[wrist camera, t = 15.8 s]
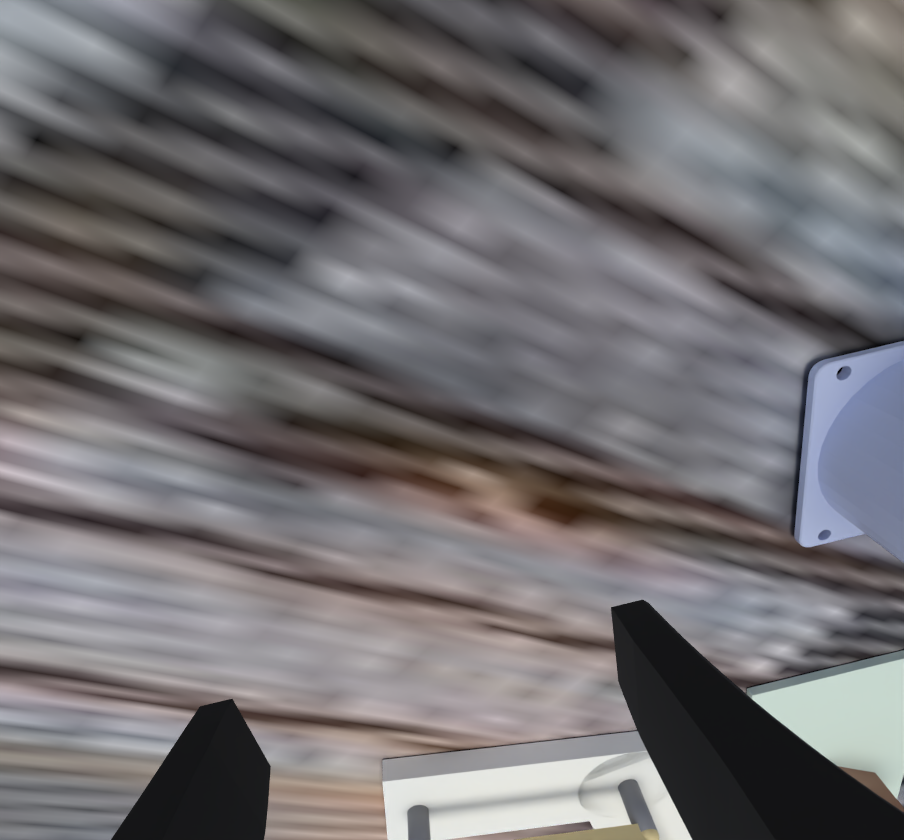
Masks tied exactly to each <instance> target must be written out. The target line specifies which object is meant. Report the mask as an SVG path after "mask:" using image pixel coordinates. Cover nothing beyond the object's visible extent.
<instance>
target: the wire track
mask: <svg viewBox="0 0 904 840" xmlns="http://www.w3.org/2000/svg"><path fill="white" fill-rule="evenodd" d="M383 792H384V803H385V814H386V825H387V836H388V840H446V839H453V838H461V837H469V836H477V835H484V834H492V833H500V832H508V831H515V830H523V829H531V828H539V827H546V826H554V825H562V824H570V823H577V822H585V821H590V823H591V825H592V827H593V828H594V829H593V830H585V831H577V832H570V833H562V834H554V835H547V836H539V837H531V838H524V839H516V840H692V838H691V836H690V834H689V832H688V830H687V828H686V826H685V824H684V823H683V821H682V819H681V817H680V815H679V813H678V811H677V809H676V807H675V805H674V803H673V801H672V799H671V797H670V795H669V793H668V791H667V789H666V787H665V785H664V783H663V781H662V779H661V777H660V775H659V773H658V772H657V770H656V768H655V766H654V764H653V762H652V760H651V758H650V756H649V754H648V752H647V750H646V748H645V746H644V744H643V742H642V740H641V738H640V735H639V733H638V731H633V732H625V733H616V734H607V735H598V736H589V737H580V738H571V739H563V740H554V741H545V742H536V743H527V744H518V745H509V746H501V747H492V748H483V749H474V750H465V751H456V752H447V753H439V754H430V755H421V756H412V757H403V758H394V759H385V760H383Z"/></svg>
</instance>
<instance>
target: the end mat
mask: <svg viewBox="0 0 904 840" xmlns="http://www.w3.org/2000/svg"><path fill="white" fill-rule="evenodd" d="M747 695H748V696H749V697H750V698H751V699H753V700H754V701H755V702H756V703H757V704H759V705H760V706H761V707H762V708H763V709H765V710H766V711H767V712H768V713H769V714H771V715H772V716H773V717H774V718H776V719H777V720H778V721H779V722H781V723H782V724H783V725H784V726H786V727H787V728H788V729H790V730H791V731H792V732H793V733H795V734H796V735H797V736H798V737H800V738H801V739H802V740H803V741H805V742H806V743H807V744H809V745H810V746H811V747H813V748H814V749H815V750H817V751H818V752H819V753H821V754H822V755H823V756H824V757H826V758H827V759H829V760H830V761H831V762H833V763H834V764H835V765H837V766H839V767H845V768H851V769H857V770H863V771H869V772H874V773H876V774H877V776H878V777H879V778H880V779H881V780H882V782H883V783H884V784H885V785H886V787H887V788H888V789H889V790H890V792H891V793H892V794H893V795H894V797H895V798H896V799H897V797H898V793H899V790H900V786H901V782H902V778H903V774H904V650H902V651H898V652H894V653H890V654H886V655H882V656H878V657H873V658H869V659H865V660H861V661H857V662H853V663H849V664H845V665H841V666H837V667H833V668H829V669H824V670H820V671H816V672H812V673H808V674H804V675H800V676H796V677H792V678H788V679H784V680H779V681H775V682H771V683H767V684H763V685H759V686H755V687H751V688H747Z"/></svg>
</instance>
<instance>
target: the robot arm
mask: <svg viewBox="0 0 904 840" xmlns="http://www.w3.org/2000/svg"><path fill="white" fill-rule="evenodd" d="M841 367H843V368H842V371H841V372H840V373H839V374H838V375H837V372H838V370H839V369H840V368H841ZM862 534H866V535H868V536H869V537H870V538H872V539H873V540H874V541H875V542H877V543H878V544H879V545H881V546H882V547H883V548H885V549H886V550H887V551H889V552H890V553H891V554H893V555H894V556H895V557H896V558H898V559H899V560H900V561H902V562H903V563H904V341H901V342H897V343H892V344H888V345H884V346H880V347H875V348H871V349H867V350H863V351H858V352H854V353H850V354H846V355H841V356H837V357H833V358H829V359H824V360H822V361H819V362H818V363H816V364H815V365H814V366H813V367H812V369H811V370H810V373H809V377H808V388H807V399H806V410H805V421H804V433H803V444H802V455H801V466H800V477H799V488H798V499H797V511H796V522H795V533H794V537H795V540H796V541H797V542H798V543H799V544H800V545H802V546H803V547H812V546H817V545H821V544H825V543H829V542H833V541H837V540H841V539H846V538H850V537H854V536H858V535H862ZM611 612H612V622H613V632H614V642H615V652H616V661H617V671H618V681H619V684H620V687H621V689H622V692H623V695H624V697H625V700H626V702H627V705H628V708H629V710H630V713H631V715H632V718H633V720H634V723H635V725H636V728H637V730H638V733H639V735H640V738H641V740H642V742H643V744H644V746H645V748H646V750H647V752H648V754H649V756H650V758H651V760H652V762H653V764H654V766H655V768H656V770H657V772H658V773H659V775H660V777H661V779H662V781H663V783H664V785H665V787H666V789H667V791H668V793H669V795H670V797H671V799H672V801H673V803H674V805H675V807H676V809H677V811H678V813H679V815H680V817H681V819H682V821H683V823H684V824H685V826H686V828H687V830H688V832H689V834H690V836H691V838H692V840H904V812H902V811H901V810H899V809H898V808H896V807H895V806H894V805H892V804H891V803H889V802H888V801H886V800H885V799H883V798H882V797H880V796H879V795H877V794H876V793H874V792H873V791H872V790H870V789H869V788H867V787H866V786H865V785H863V784H862V783H860V782H859V781H858V780H856V779H855V778H853V777H852V776H851V775H849V774H848V773H846V772H845V771H843V770H842V769H841V768H839V767H838V766H837V765H835V764H834V763H833V762H831V761H830V760H829V759H827V758H826V757H824V756H823V755H822V754H821V753H819V752H818V751H817V750H815V749H814V748H813V747H811V746H810V745H809V744H807V743H806V742H805V741H803V740H802V739H801V738H800V737H798V736H797V735H796V734H795V733H793V732H792V731H791V730H790V729H788V728H787V727H786V726H784V725H783V724H782V723H781V722H779V721H778V720H777V719H776V718H774V717H773V716H772V715H771V714H769V713H768V712H767V711H766V710H765V709H763V708H762V707H761V706H760V705H759V704H757V703H756V702H755V701H754V700H753V699H751V698H750V697H749V696H748V695H747V694H746V693H744V692H743V691H742V690H741V689H740V688H739V687H737V686H736V685H735V684H734V683H733V682H732V681H731V680H729V679H728V678H727V677H726V676H725V675H724V674H722V673H721V672H720V671H719V670H718V669H717V668H716V667H715V666H713V665H712V664H711V663H710V662H709V661H708V660H707V659H706V658H705V657H703V656H702V655H701V654H700V653H699V652H698V651H697V650H696V649H695V648H694V647H693V646H692V645H691V644H690V643H688V642H687V641H686V640H685V639H684V638H683V637H682V636H681V635H680V634H679V633H678V632H677V631H676V630H675V629H674V628H673V627H672V626H671V625H670V624H669V623H668V622H667V621H666V620H665V619H664V618H663V617H662V616H661V615H660V614H659V613H658V612H657V611H656V610H655V609H654V608H653V607H652V606H651V605H650V604H649V603H648V602H646V601H644V600H640V601H635V602H631V603H627V604H623V605H619V606H615V607H611ZM270 767H271V766H270V765H269V763H268V761H267V759H266V758H265V756H264V754H263V752H262V750H261V749H260V747H259V745H258V743H257V742H256V740H255V738H254V736H253V735H252V733H251V731H250V729H249V727H248V726H247V724H246V722H245V720H244V719H243V717H242V715H241V713H240V711H239V710H238V708H237V706H236V704H235V703H234V701H233V699H229V700H225V701H221V702H217V703H213V704H208V705H204V706H200V707H199V709H198V710H197V712H196V713H195V715H194V716H193V718H192V719H191V721H190V722H189V724H188V725H187V727H186V728H185V730H184V731H183V733H182V734H181V736H180V737H179V739H178V740H177V742H176V743H175V745H174V746H173V748H172V749H171V751H170V752H169V754H168V755H167V757H166V758H165V760H164V761H163V763H162V765H161V766H160V768H159V769H158V771H157V772H156V774H155V775H154V777H153V778H152V780H151V781H150V783H149V784H148V786H147V787H146V789H145V790H144V792H143V793H142V795H141V796H140V798H139V799H138V801H137V802H136V804H135V805H134V807H133V808H132V810H131V811H130V813H129V814H128V816H127V817H126V818H125V820H124V821H123V823H122V824H121V826H120V827H119V829H118V830H117V832H116V833H115V835H114V836H113V838H112V839H111V840H264V835H265V829H266V818H267V808H268V796H269V781H270Z"/></svg>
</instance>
